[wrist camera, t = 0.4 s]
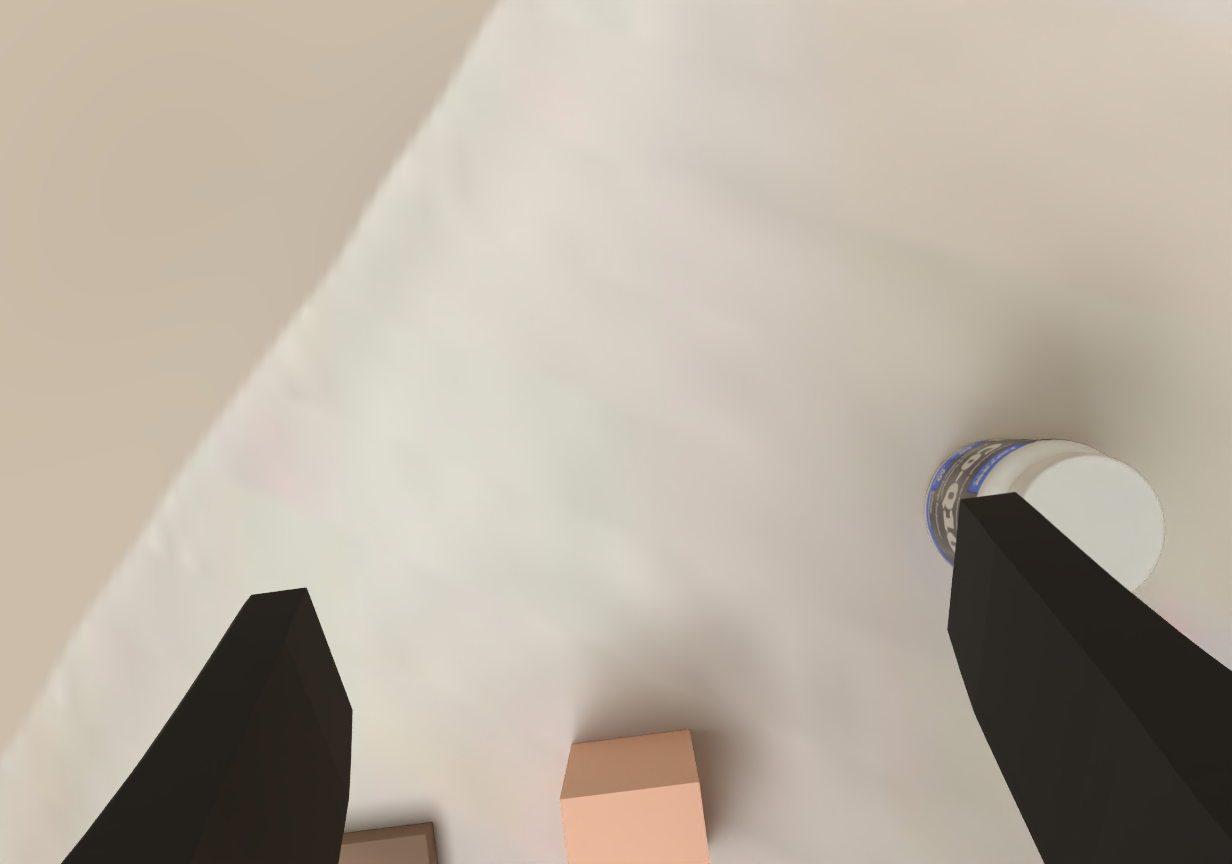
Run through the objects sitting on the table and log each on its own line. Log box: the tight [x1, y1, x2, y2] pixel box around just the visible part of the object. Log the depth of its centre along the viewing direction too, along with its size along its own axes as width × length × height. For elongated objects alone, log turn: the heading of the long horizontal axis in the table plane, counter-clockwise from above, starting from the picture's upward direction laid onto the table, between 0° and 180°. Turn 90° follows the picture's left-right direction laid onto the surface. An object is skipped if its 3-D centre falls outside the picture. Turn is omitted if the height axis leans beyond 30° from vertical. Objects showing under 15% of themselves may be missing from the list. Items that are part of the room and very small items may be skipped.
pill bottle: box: [924, 439, 1165, 592], centre depth 34 cm, size 5×5×8 cm
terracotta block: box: [560, 729, 710, 864], centre depth 35 cm, size 4×4×6 cm
